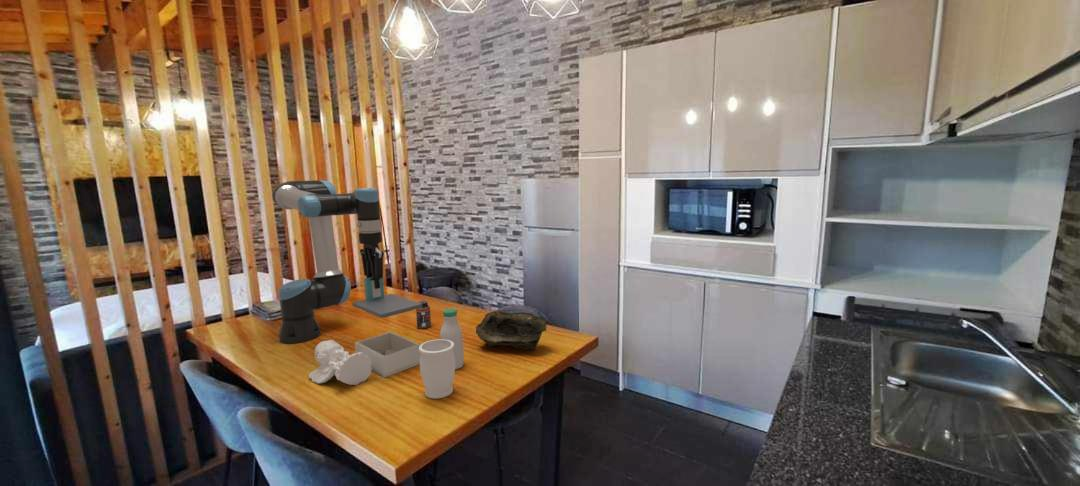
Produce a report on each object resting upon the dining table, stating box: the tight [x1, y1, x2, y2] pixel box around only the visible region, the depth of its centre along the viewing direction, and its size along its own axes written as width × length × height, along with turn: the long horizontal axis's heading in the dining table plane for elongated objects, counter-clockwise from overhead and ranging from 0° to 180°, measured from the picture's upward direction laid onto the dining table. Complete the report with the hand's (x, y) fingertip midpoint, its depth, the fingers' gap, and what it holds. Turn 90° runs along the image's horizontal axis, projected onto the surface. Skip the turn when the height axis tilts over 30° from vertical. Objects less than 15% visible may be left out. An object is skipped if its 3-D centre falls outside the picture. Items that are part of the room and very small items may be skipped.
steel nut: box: [374, 349, 386, 356], centre depth 153 cm, size 4×4×2 cm
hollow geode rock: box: [475, 311, 548, 351], centre depth 164 cm, size 28×13×15 cm
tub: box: [354, 331, 421, 378], centre depth 151 cm, size 20×14×7 cm
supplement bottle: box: [415, 300, 432, 330], centre depth 187 cm, size 6×6×11 cm
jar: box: [419, 338, 456, 400], centre depth 129 cm, size 11×10×15 cm
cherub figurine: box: [308, 339, 372, 386], centre depth 139 cm, size 13×12×20 cm
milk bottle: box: [439, 308, 465, 370], centre depth 147 cm, size 8×8×20 cm
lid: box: [351, 277, 422, 319], centre depth 149 cm, size 21×15×10 cm
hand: (375, 296), depth 155 cm, fingers closed on lid, 2 cm apart
